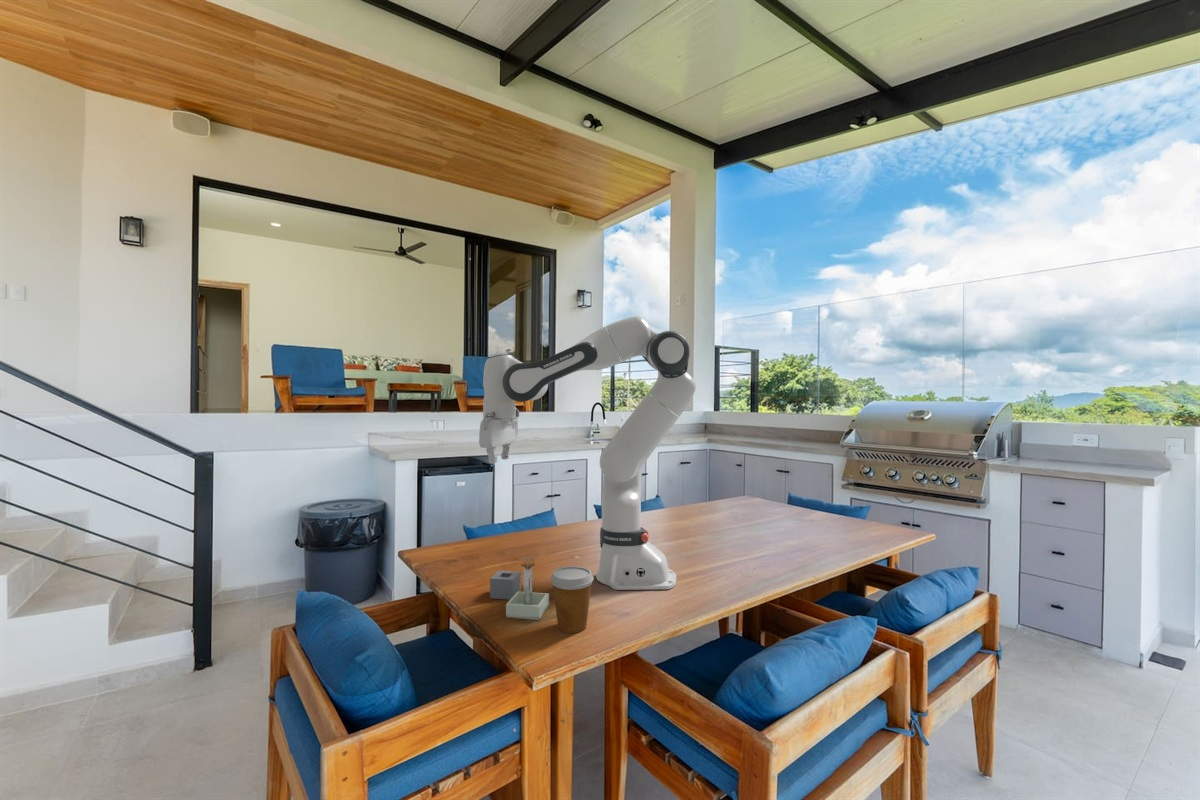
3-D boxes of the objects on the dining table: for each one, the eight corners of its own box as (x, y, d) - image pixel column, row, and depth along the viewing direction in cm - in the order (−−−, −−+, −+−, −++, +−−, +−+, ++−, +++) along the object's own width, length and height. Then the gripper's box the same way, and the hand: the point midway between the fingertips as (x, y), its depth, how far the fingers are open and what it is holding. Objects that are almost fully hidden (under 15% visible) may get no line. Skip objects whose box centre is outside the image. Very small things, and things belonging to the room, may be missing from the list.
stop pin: (536, 606, 120) (536, 556, 120) (532, 612, 117) (532, 560, 117) (523, 605, 121) (523, 555, 121) (519, 611, 118) (519, 560, 118)
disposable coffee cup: (602, 628, 110) (602, 574, 110) (565, 641, 104) (564, 583, 104) (578, 613, 118) (578, 562, 118) (542, 624, 112) (542, 570, 112)
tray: (548, 605, 122) (548, 593, 122) (539, 619, 114) (539, 606, 114) (517, 603, 124) (517, 591, 124) (506, 617, 116) (506, 604, 116)
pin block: (520, 590, 132) (520, 571, 132) (512, 599, 126) (512, 579, 126) (498, 589, 133) (498, 570, 133) (490, 598, 127) (490, 578, 127)
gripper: (495, 413, 131) (495, 466, 131) (521, 411, 151) (521, 457, 151) (473, 413, 132) (473, 465, 132) (501, 411, 152) (501, 456, 152)
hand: (499, 461), depth 141 cm, fingers open, 8 cm apart
